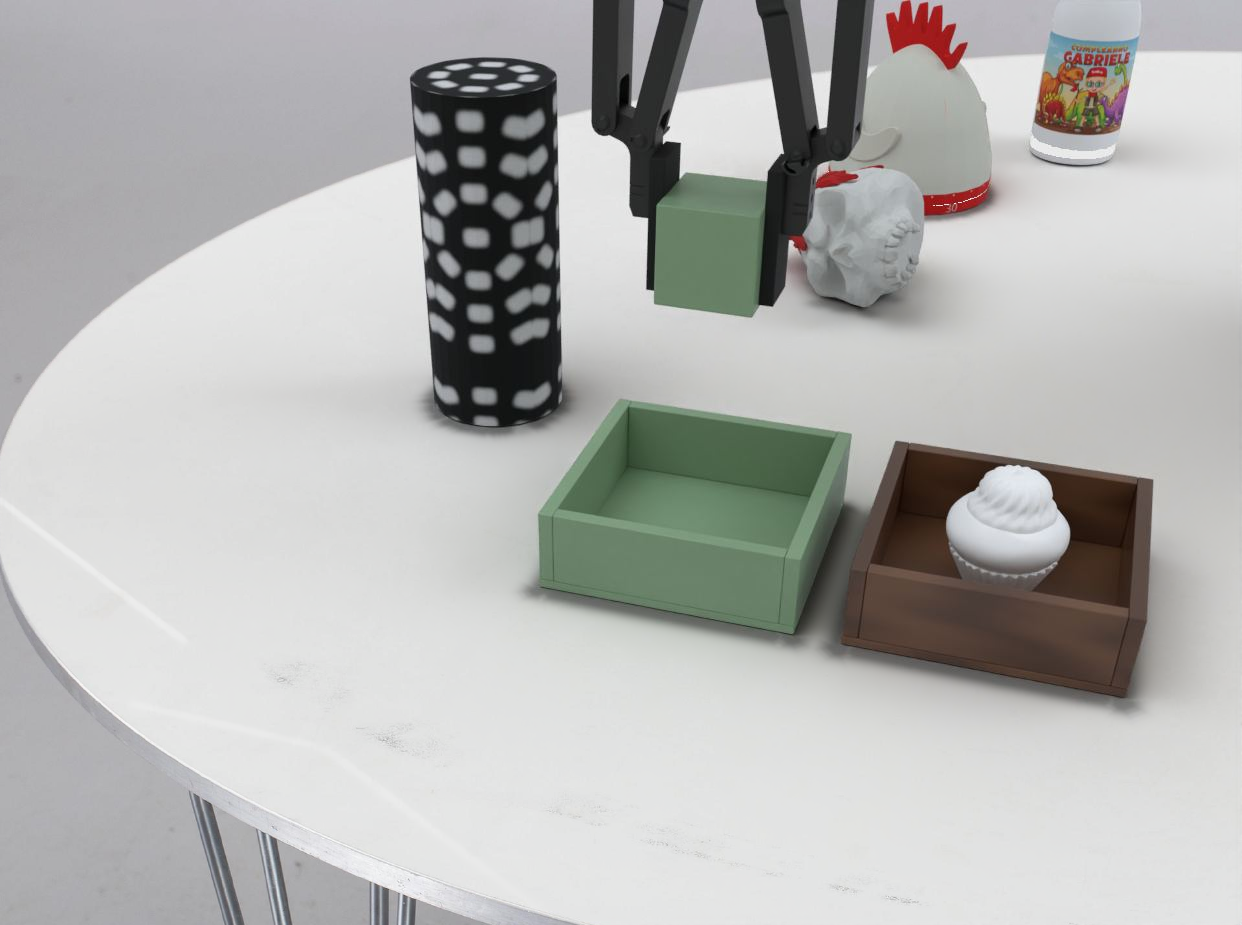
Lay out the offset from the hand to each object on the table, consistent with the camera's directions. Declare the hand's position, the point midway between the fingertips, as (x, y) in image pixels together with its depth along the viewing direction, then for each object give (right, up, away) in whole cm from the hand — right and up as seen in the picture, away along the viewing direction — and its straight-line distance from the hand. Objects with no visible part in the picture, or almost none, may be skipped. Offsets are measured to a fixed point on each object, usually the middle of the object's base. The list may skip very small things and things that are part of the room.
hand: (715, 287), depth 71 cm
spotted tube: (-12, -2, +22) cm, 25 cm away
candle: (+13, +9, +37) cm, 40 cm away
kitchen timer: (+21, +22, +54) cm, 62 cm away
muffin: (+15, -15, +3) cm, 21 cm away
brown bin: (+15, -15, +3) cm, 22 cm away
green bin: (0, -12, +8) cm, 14 cm away
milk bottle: (+38, +28, +62) cm, 78 cm away
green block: (0, 0, 0) cm, 0 cm away
